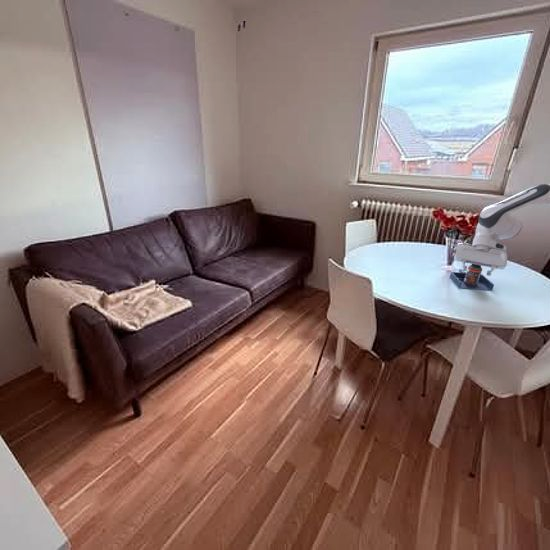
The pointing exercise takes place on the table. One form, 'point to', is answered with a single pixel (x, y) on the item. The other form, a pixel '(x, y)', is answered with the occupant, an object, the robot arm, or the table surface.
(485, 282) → the blue tray
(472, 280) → the supplement bottle
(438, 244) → the table surface
